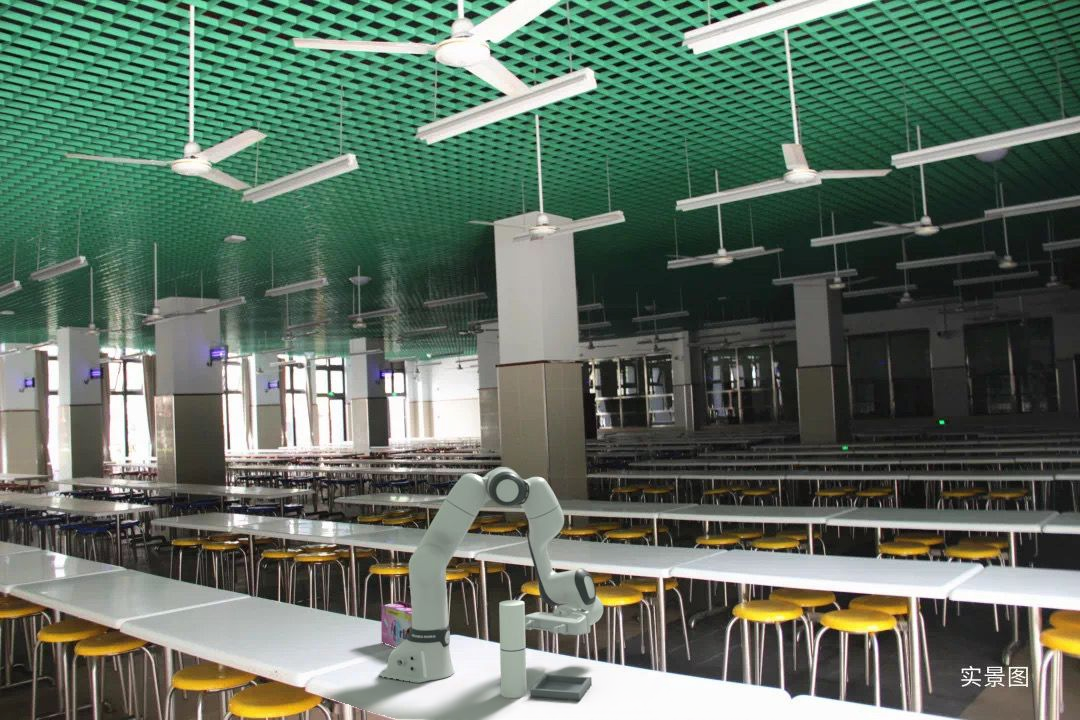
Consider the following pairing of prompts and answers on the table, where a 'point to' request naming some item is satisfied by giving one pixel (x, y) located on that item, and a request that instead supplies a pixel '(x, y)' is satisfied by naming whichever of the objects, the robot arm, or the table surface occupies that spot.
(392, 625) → the pink product box
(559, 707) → the table surface
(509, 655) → the cylindrical container
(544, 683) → the tray
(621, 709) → the table surface
